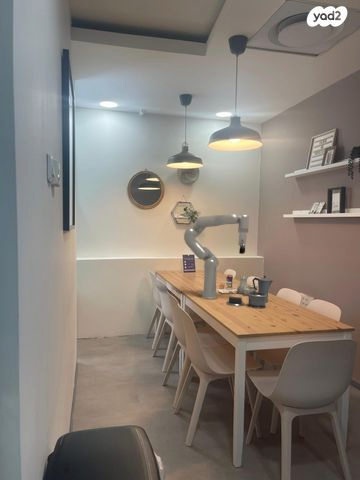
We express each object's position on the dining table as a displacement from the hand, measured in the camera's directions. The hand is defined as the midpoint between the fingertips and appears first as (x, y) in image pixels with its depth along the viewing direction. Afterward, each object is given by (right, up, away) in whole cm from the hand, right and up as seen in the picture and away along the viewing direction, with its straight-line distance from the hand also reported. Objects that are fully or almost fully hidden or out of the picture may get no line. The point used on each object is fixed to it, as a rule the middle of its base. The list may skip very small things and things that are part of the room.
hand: (242, 253), depth 264 cm
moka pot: (+15, -38, +2) cm, 41 cm away
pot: (+8, -38, -15) cm, 41 cm away
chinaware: (+9, -36, +32) cm, 49 cm away
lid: (-7, -37, -11) cm, 40 cm away
